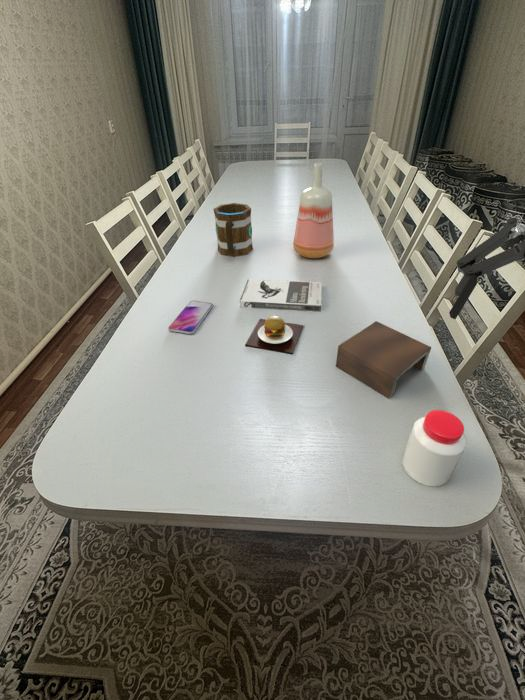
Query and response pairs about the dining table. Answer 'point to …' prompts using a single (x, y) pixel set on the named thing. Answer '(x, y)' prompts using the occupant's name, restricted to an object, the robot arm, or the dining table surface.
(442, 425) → the pill bottle
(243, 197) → the dining table surface
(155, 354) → the dining table surface
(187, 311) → the smartphone
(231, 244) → the mug
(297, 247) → the vase
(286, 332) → the hamburger
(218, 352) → the dining table surface
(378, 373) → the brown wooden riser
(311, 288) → the book
